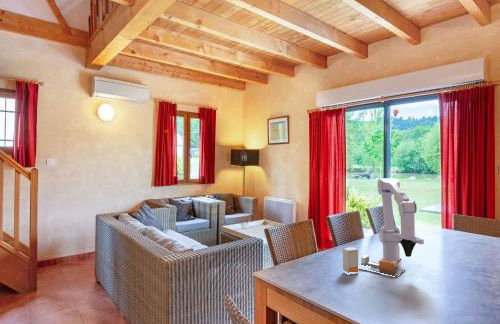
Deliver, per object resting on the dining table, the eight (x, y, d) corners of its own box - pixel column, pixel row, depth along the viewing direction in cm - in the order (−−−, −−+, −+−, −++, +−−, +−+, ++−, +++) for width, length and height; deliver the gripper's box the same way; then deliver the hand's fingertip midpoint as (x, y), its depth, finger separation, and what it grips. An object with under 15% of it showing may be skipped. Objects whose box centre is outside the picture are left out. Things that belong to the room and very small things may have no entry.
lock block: (379, 269, 146) (378, 260, 146) (382, 266, 149) (382, 258, 149) (394, 272, 141) (393, 263, 141) (397, 270, 144) (397, 261, 144)
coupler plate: (366, 262, 159) (366, 253, 159) (404, 271, 145) (404, 260, 145) (356, 268, 150) (356, 258, 150) (396, 278, 137) (395, 267, 137)
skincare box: (347, 275, 141) (347, 250, 141) (342, 272, 145) (342, 248, 145) (359, 274, 143) (358, 249, 143) (353, 271, 147) (353, 246, 147)
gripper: (428, 229, 134) (428, 259, 134) (400, 223, 147) (400, 250, 147) (417, 230, 131) (418, 261, 131) (389, 224, 144) (390, 252, 144)
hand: (408, 256), depth 139 cm, fingers closed
